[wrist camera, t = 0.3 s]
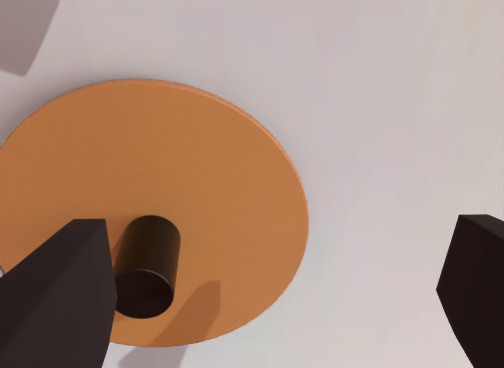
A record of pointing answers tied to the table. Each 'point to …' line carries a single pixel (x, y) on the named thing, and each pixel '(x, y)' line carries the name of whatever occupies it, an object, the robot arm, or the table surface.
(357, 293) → the table surface
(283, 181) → the lid
